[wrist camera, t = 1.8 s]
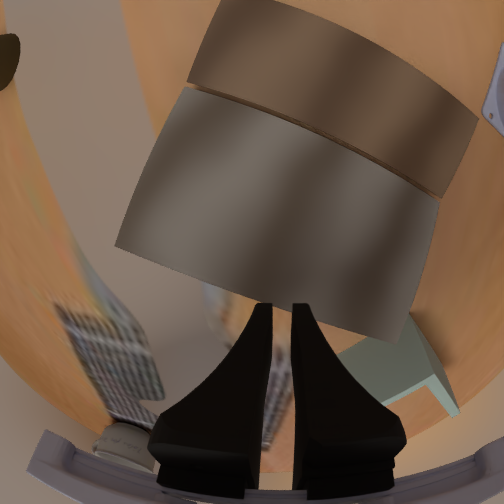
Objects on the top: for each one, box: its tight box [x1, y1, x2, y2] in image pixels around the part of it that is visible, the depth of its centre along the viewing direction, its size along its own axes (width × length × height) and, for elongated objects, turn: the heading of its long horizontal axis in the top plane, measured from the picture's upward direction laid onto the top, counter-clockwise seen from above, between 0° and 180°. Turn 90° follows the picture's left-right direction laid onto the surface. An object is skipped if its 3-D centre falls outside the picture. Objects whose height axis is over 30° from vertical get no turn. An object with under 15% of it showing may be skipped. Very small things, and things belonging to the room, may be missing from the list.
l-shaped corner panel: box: [336, 314, 460, 418], centre depth 24 cm, size 12×12×8 cm
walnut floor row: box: [187, 0, 479, 199], centre depth 14 cm, size 18×7×2 cm, turn 69°
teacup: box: [92, 422, 156, 474], centre depth 39 cm, size 14×11×8 cm
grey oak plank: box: [115, 87, 440, 344], centre depth 16 cm, size 18×10×2 cm, turn 69°
